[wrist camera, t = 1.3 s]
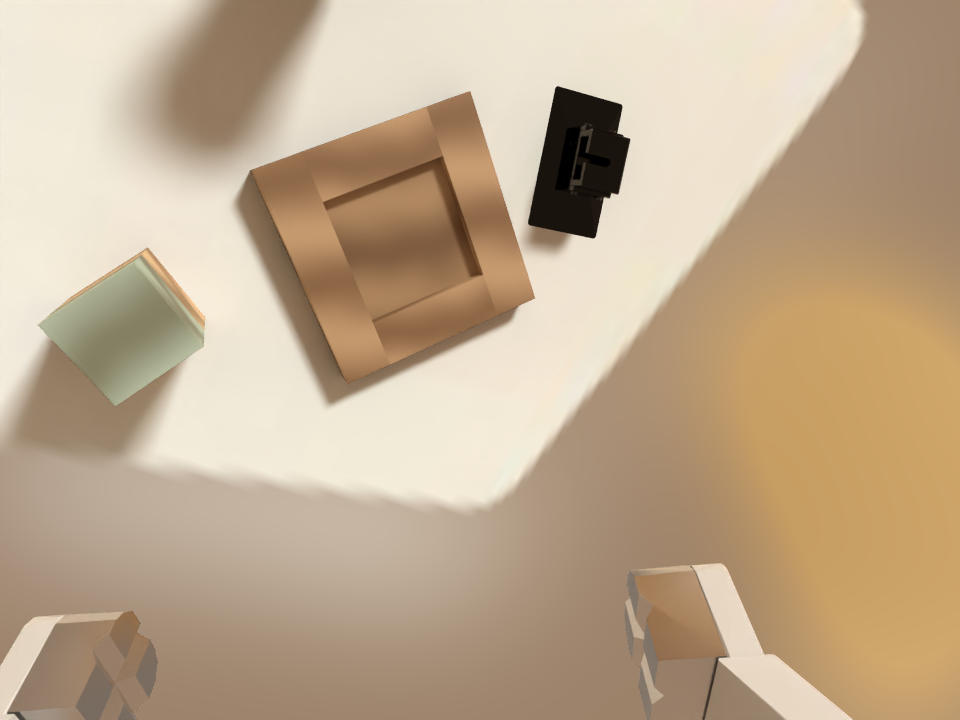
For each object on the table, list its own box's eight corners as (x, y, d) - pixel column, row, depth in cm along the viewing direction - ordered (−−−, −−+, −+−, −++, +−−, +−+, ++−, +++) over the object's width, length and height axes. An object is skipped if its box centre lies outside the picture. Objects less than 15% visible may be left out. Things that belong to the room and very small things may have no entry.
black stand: (546, 58, 45) (580, 45, 41) (635, 86, 48) (675, 77, 44) (511, 243, 47) (539, 248, 43) (598, 259, 50) (632, 266, 46)
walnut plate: (250, 170, 40) (251, 170, 38) (460, 94, 43) (470, 91, 41) (342, 376, 45) (347, 384, 43) (524, 294, 48) (535, 298, 46)
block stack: (70, 297, 38) (37, 325, 31) (148, 247, 39) (133, 263, 32) (132, 365, 40) (115, 406, 33) (204, 316, 41) (203, 346, 34)
